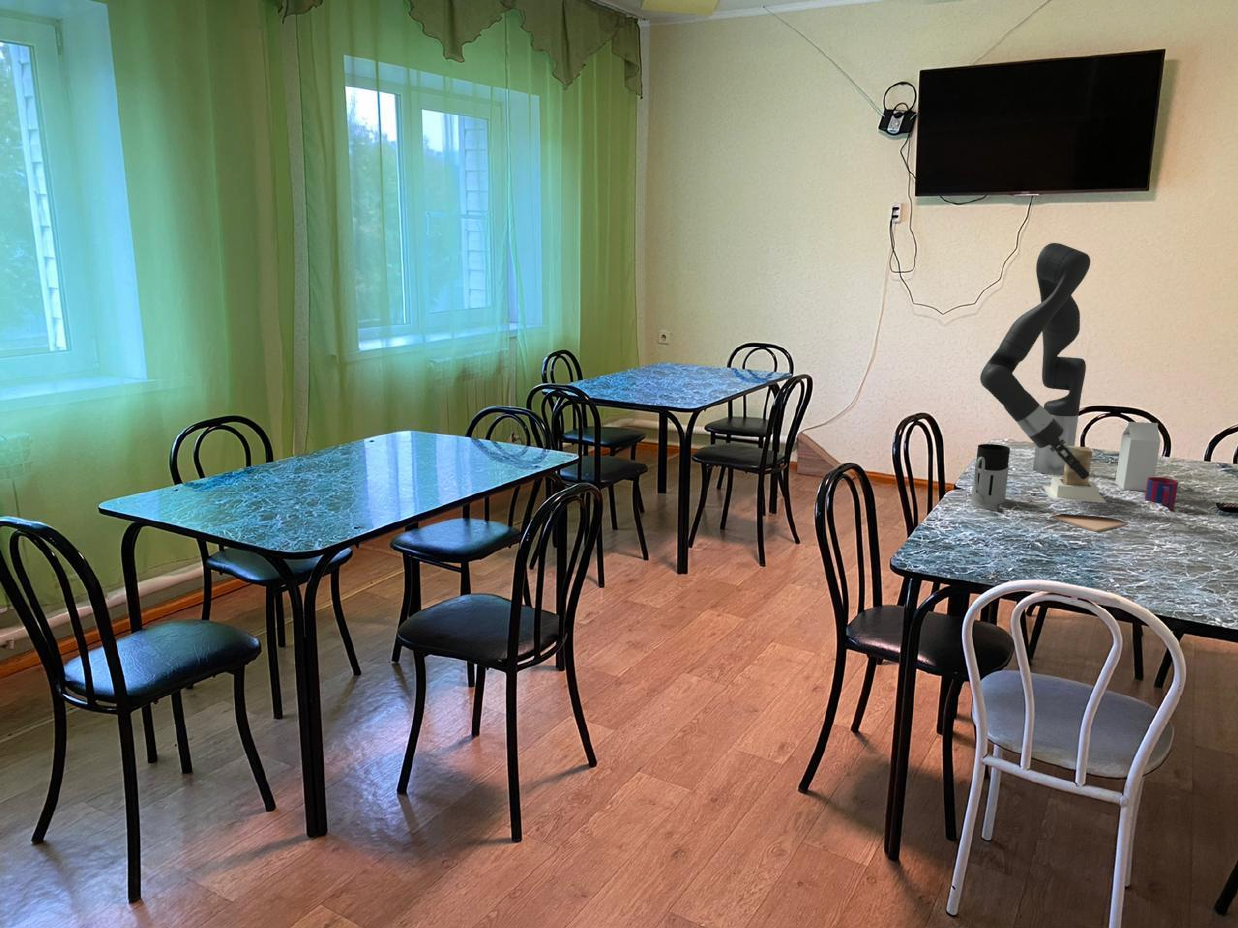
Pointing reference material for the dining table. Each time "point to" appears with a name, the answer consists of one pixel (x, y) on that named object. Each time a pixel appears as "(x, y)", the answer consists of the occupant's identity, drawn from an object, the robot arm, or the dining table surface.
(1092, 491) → the socket stand
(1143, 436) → the milk carton
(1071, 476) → the oak bar
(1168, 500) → the mug
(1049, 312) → the robot arm
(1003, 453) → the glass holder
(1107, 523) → the terracotta mat
